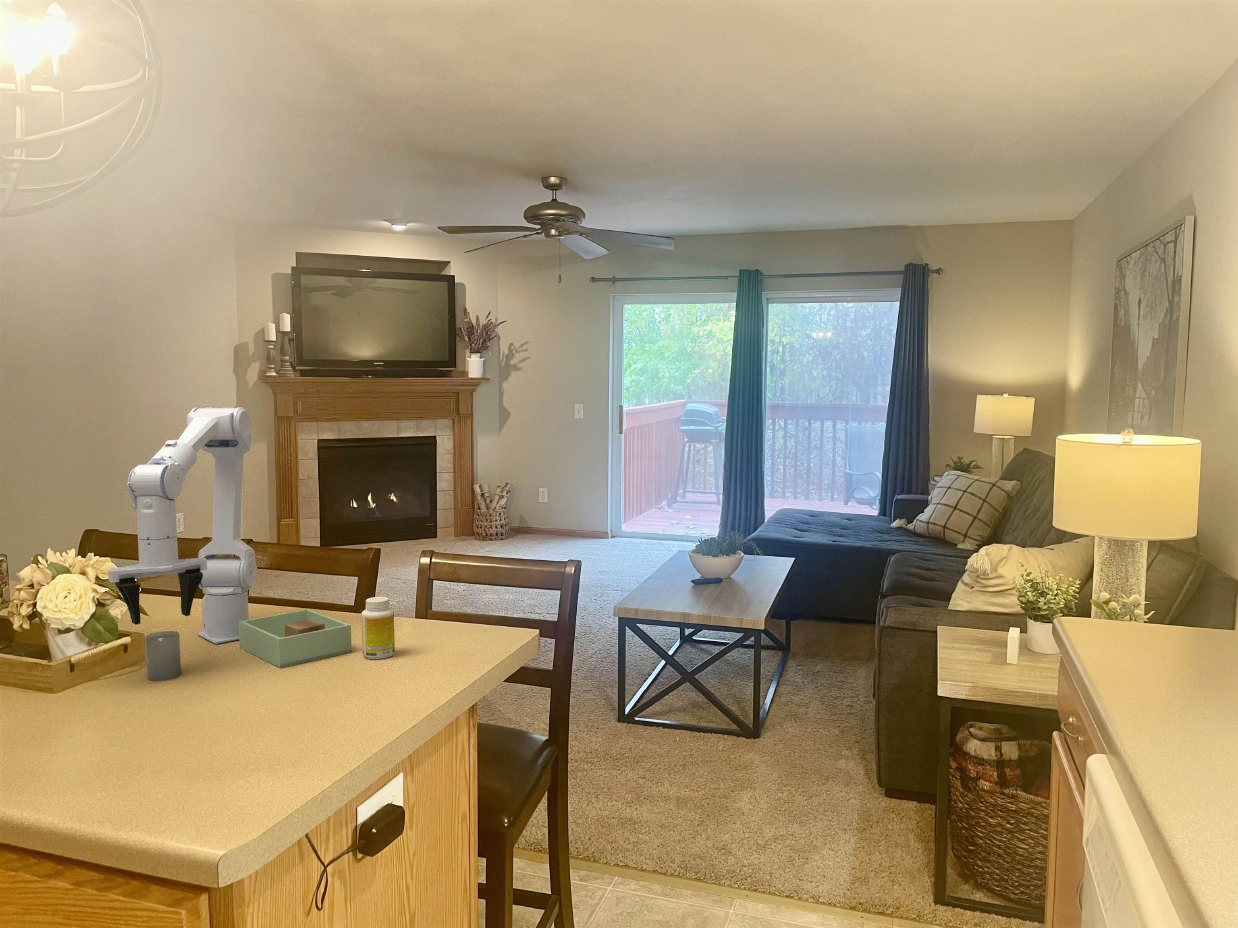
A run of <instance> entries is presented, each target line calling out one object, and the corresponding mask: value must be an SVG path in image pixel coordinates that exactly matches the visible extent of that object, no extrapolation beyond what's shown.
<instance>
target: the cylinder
mask: <svg viewBox="0 0 1238 928" xmlns="http://www.w3.org/2000/svg"><path fill="white" fill-rule="evenodd" d="M144 637H145V641H144V642H145V643H144V644H145V660H146V662H145V663H146V679H147V681H149V682H150V681H151V682H164V681H170V680H173V679H177V678H179V677H180V676H181V675H182V668H181V664H182V663H181V646H180V645H181V643H180V632H179V631H176V630H163V631H156V632H152V633H149V634H147V635H145V636H144Z"/></svg>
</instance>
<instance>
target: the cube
mask: <svg viewBox="0 0 1238 928" xmlns="http://www.w3.org/2000/svg"><path fill="white" fill-rule="evenodd" d="M324 629H325V624H323V623H320V622H318V621H315V620H312V619H310V620H305V621H300V622H295V623H290V624H285V637H289V636H294V635H299V634H304V633H309V632H314V631H319V630H324Z"/></svg>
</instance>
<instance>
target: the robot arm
mask: <svg viewBox="0 0 1238 928" xmlns="http://www.w3.org/2000/svg"><path fill="white" fill-rule="evenodd" d="M252 427H253V424H252V419H251V417H250V415H249V413H248V411H247V409H245V407H242V406H241V407H239V406H238V407H220V408H219V407H214V408H213V407H211V408H209V407H208V408H206V407H204V408H203V407H193V408H192V409H191V410H190V412H189V413H188V414H187V415H186V428H185V429H184V430H183V432H182V433H181V435H180V436H179V438H178V439H172V440H169V439H168V440H167V441H165V442H164V444H163V446H162V447H161V448H159V450H158V451H157V452H156V453H155V454H154V455H153V456H152V458H151V459H149V461H148V462H147V463H146V464H138V465H137V466H136V467H133V469H131V470H130V472H129V475H128V478H127V479H128V480H127V483H126V488H127V491H128V495H129V496H130V498H131V505H132V508H133V511H136V524H137V525H136V526H137V527H136V531H137V544H138V545H137V546H138V547H137V548H138V549H137V550H138V564H133V565H125V566H122V567H116V568H110V569H107V571H108V572H107V575H108V582H110V583H113V584H114V585H115V587H116V588H117V590H118V591H119V593H120V595H121V597H122V598H123V600H124V602H125V604H126V606H127V609H128V612H129V615H130V621H131V623H132V624H134V625H141V609H140V593H141V592H140V591H141V584H139V583H138V581H137V579H143V578H144V579H145V578H152V577H159V576H166V575H174V574H177V576H178V577H177V578H178V583H179V590H180V612H181V615H182V616H185V617H188V616H189V617H190V616H191V611H192V606H193V602H194V599H195V596H196V592H197V590H198V588H199V589H201V590H202V594H204V596H203V597H202V601H201V619H202V631H199V632H197V635H198V636H200V637H201V638H203V639H206V640H208V641H209V642H210V643H212V644H216V645H217V644H221V643H222V644H223V643H229V642H232V641H238V640H239V641H240V635H239V621H244V620H250V617H249V595H248V590H250V589H251V588H252V587H253V586H254V585H255V584H256V581H257V577H258V566H257V563H256V552H255V550H254V549H253V548H252V547H251V546H250V545H248V544H247V543H245V542H244V541H243V540H242V539H241V532H242V531H241V528H242V501H243V474H244V473H243V472H244V467H243V465H244V454H246V453H248V452H249V451H251V444H252ZM200 450H203V451H204V452H206V453H207V454H211V455H212V457H213V458H214V481H213V482H214V483H213V484H214V486H213V506H212V507H213V510H212V529H211V530H212V534H211V541H210V542H208V543H207V544H206V545H204V546H203V547H202V548H201V549H200V550H199V551H198V555H197V556H198V557H195V558H182V559H181V558H180V559H179V551H178V550H179V549H178V546H179V545H178V528H177V527H178V525H177V506H176V505H177V503H176V498H178V497H179V496H180V494H181V492H182V489H183V484H184V482H185V480H186V478H185V476H186V475H187V474H188V472H189V471H191V469H192V468H193V466H195V464H196V462H197V461H198V460H197V452H199V451H200ZM218 555H220V556H218ZM221 555H236V556H222V557H221Z"/></svg>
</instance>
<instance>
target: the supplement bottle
mask: <svg viewBox="0 0 1238 928" xmlns="http://www.w3.org/2000/svg"><path fill="white" fill-rule="evenodd" d="M389 601H390V599H389V597H386V596H375V597H374V596H373V597H369V598H367V599H366V600H365V609H364V610H363V611H362V612H361V616H360V617H361V645H362V646H361V647H362V648H361V649H362V656H363V657H364V658H365V659H369V660H381V659H382V660H383V659H387V658H390V657H392V656H394V654H395V652H396V651H395V649H396V648H395V641H396V640H395V614H394V612H395V611H394V609H392V608H391V607H390V602H389Z"/></svg>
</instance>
